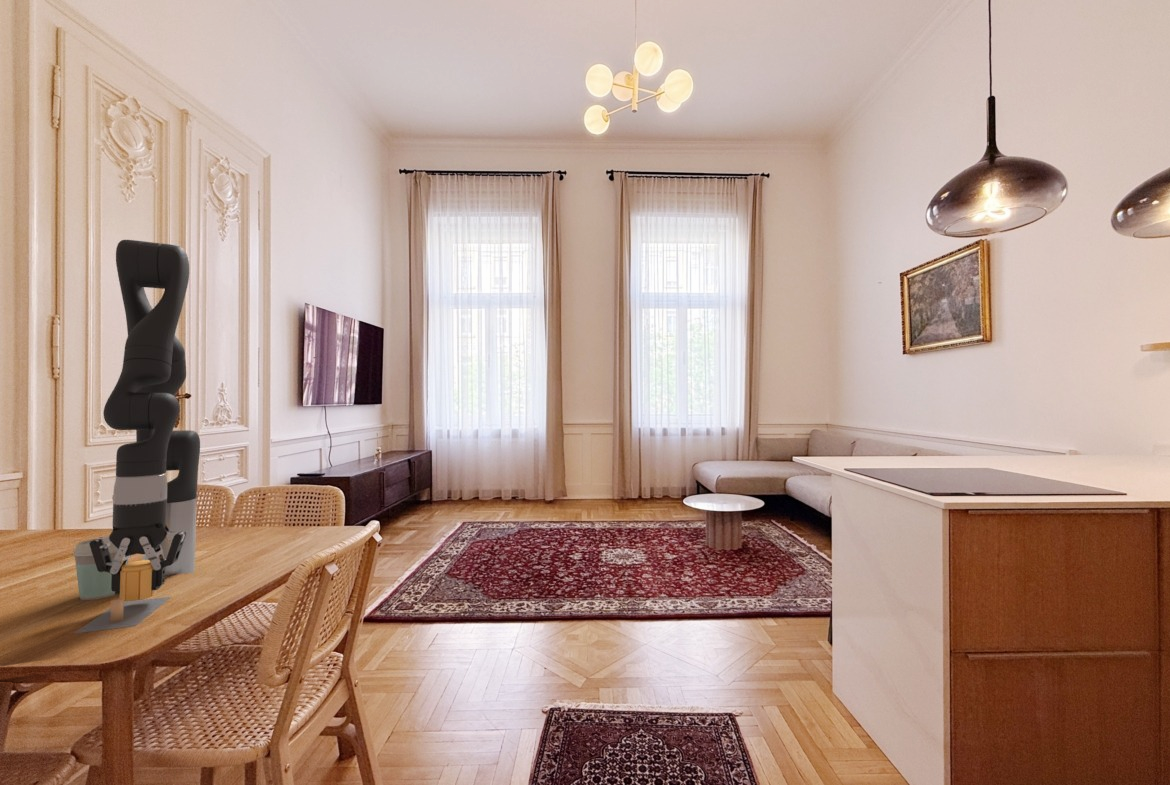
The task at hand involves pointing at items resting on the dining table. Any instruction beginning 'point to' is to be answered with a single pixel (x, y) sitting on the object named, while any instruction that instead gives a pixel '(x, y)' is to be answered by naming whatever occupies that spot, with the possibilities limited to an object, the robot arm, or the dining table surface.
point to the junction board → (123, 614)
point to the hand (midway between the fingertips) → (138, 590)
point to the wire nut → (136, 581)
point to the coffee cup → (92, 572)
